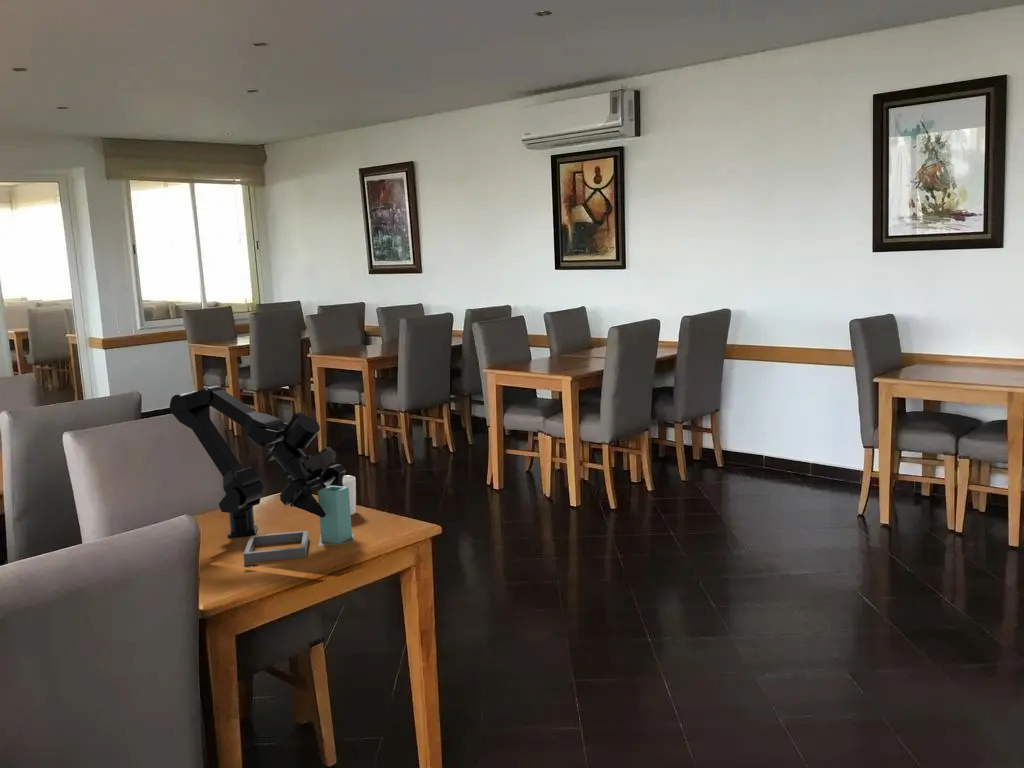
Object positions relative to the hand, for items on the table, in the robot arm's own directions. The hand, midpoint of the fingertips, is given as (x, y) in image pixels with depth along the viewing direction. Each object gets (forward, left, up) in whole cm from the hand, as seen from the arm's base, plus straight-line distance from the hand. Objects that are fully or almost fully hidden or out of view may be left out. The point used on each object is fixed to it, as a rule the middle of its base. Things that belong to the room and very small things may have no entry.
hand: (336, 510), depth 199 cm
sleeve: (0, 0, -7) cm, 7 cm away
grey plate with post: (0, 0, -8) cm, 8 cm away
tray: (+4, -13, -8) cm, 16 cm away
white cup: (-22, +1, -8) cm, 24 cm away
